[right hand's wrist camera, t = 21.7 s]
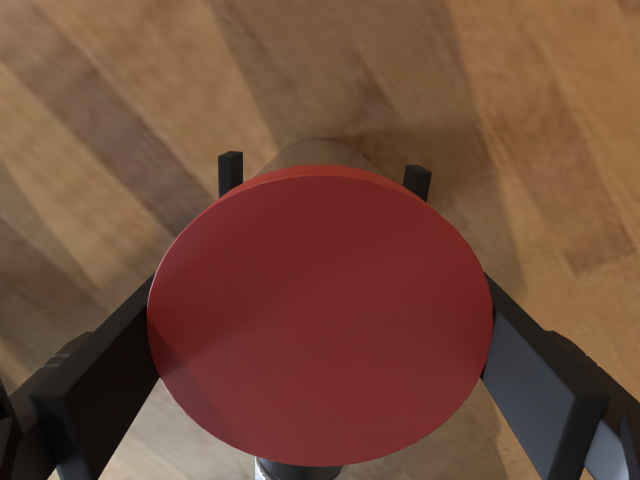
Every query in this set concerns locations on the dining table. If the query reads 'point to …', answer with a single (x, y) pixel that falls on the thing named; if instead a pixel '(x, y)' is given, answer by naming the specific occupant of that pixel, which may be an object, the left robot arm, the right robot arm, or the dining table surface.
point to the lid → (319, 317)
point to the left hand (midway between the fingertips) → (325, 161)
